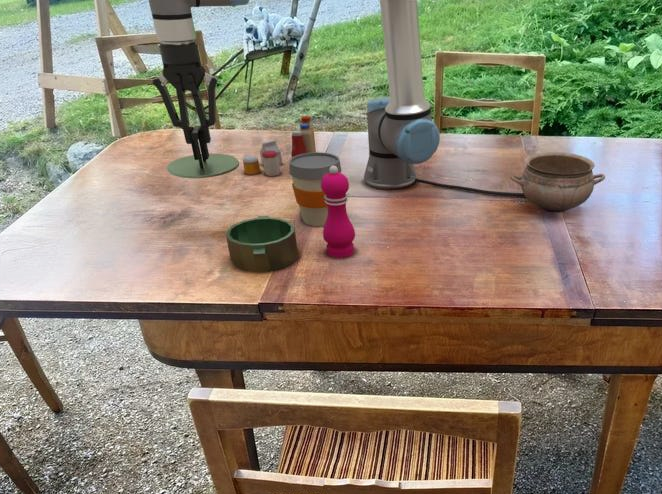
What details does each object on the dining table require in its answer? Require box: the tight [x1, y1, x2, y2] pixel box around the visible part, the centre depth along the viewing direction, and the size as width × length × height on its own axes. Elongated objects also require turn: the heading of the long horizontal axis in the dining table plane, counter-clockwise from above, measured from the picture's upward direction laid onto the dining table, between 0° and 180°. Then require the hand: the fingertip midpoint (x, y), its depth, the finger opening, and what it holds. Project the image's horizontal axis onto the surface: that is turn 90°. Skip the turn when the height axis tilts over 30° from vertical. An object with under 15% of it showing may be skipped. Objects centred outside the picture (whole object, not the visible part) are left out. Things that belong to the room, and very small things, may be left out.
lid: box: [166, 125, 240, 179], centre depth 136 cm, size 16×16×9 cm
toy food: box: [242, 115, 317, 177], centre depth 184 cm, size 27×13×12 cm, turn 136°
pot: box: [225, 215, 299, 273], centre depth 135 cm, size 15×20×6 cm
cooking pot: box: [509, 151, 606, 214], centre depth 158 cm, size 25×19×12 cm
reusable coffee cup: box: [288, 151, 342, 227], centre depth 150 cm, size 13×13×15 cm
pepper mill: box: [321, 166, 356, 259], centre depth 133 cm, size 7×7×20 cm
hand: (202, 157), depth 137 cm, fingers closed on lid, 1 cm apart
